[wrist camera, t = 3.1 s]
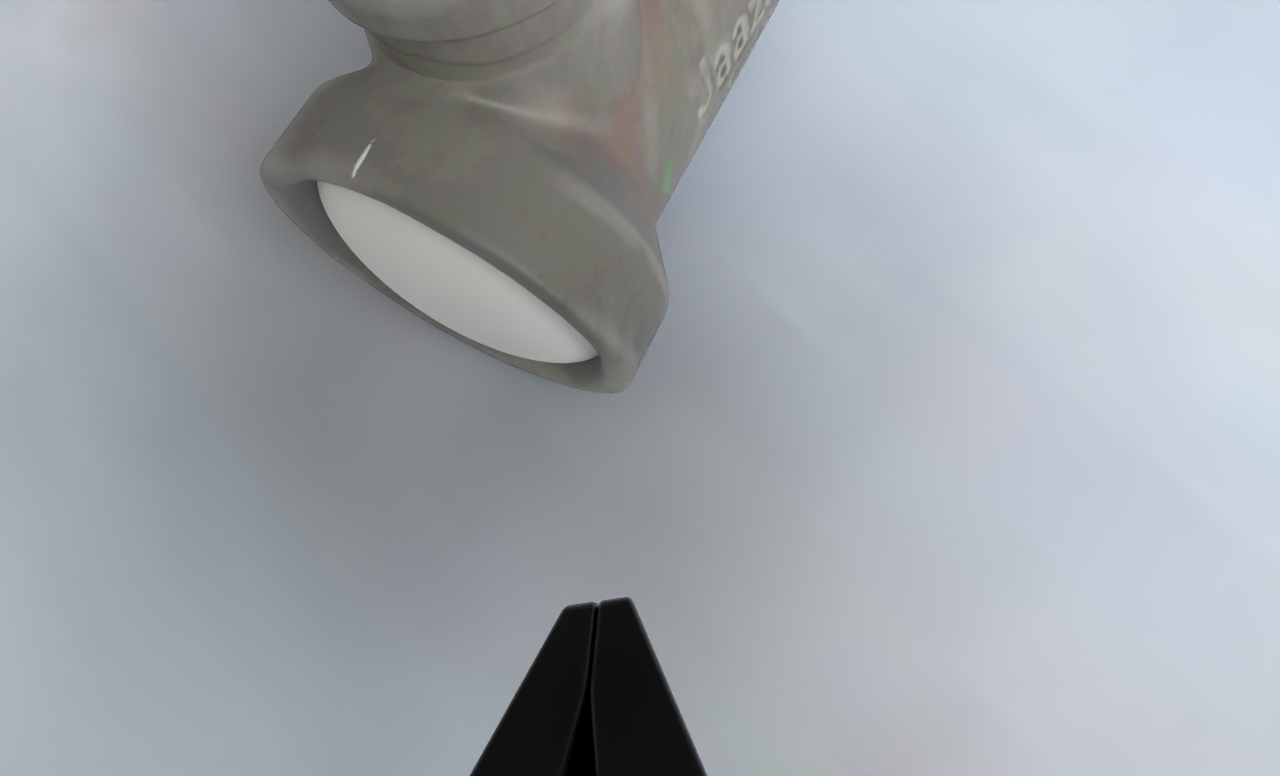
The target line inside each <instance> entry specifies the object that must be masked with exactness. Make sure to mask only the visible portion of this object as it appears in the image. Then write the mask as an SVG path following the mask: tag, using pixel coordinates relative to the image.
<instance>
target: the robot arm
mask: <svg viewBox="0 0 1280 776" xmlns="http://www.w3.org/2000/svg"><path fill="white" fill-rule="evenodd" d="M470 776H707V774H706V772H705V769H704V767H703V765H702V762H701V760H700V758H699V755H698V753H697V750H696V748H695V746H694V743H693V741H692V739H691V736H690V734H689V732H688V729H687V727H686V725H685V722H684V720H683V718H682V715H681V713H680V711H679V708H678V706H677V703H676V701H675V699H674V696H673V694H672V692H671V689H670V687H669V685H668V682H667V680H666V678H665V675H664V673H663V671H662V668H661V666H660V664H659V661H658V659H657V657H656V654H655V652H654V649H653V647H652V645H651V642H650V640H649V638H648V635H647V633H646V631H645V628H644V626H643V624H642V621H641V619H640V617H639V614H638V612H637V610H636V607H635V605H634V603H633V601H632V599H630V598H628V597H624V598H617V599H610V600H604V601H602V602H601V603H600V604H599V605H598V604H597V603H594V602H589V603H582V604H575V605H570V606H567V607H566V608H564V609H563V611H562V612H561V614H560V616H559V617H558V619H557V621H556V623H555V625H554V626H553V628H552V630H551V632H550V633H549V635H548V637H547V639H546V641H545V642H544V644H543V646H542V648H541V650H540V651H539V653H538V655H537V657H536V658H535V660H534V662H533V664H532V666H531V667H530V669H529V671H528V673H527V675H526V676H525V678H524V680H523V682H522V683H521V685H520V687H519V689H518V691H517V692H516V694H515V696H514V698H513V700H512V701H511V703H510V705H509V707H508V708H507V710H506V712H505V714H504V716H503V717H502V719H501V721H500V723H499V724H498V726H497V728H496V730H495V732H494V733H493V735H492V737H491V739H490V741H489V742H488V744H487V746H486V748H485V749H484V751H483V753H482V755H481V757H480V758H479V760H478V762H477V764H476V766H475V767H474V769H473V771H472V773H471V774H470Z"/></svg>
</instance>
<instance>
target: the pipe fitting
mask: <svg viewBox="0 0 1280 776" xmlns="http://www.w3.org/2000/svg"><path fill="white" fill-rule="evenodd" d="M329 1H330V2H331V4H332V5H333V6H334V7H335V8H336V9H337V10H338V11H339V12H340V13H341V14H343V15H344V16H345V17H346V18H348V19H349V20H351V21H352V22H354V23H355V24H357V25H359V26H361V27H363V28H364V29H365V32H366V35H367V38H368V41H369V44H370V47H371V51H372V56H373V59H372V63H371V64H370V65H369V66H368V67H366V68H364V69H362V70H359V71H356V72H353V73H349V74H346V75H343V76H340V77H337V78H334V79H332V80H330V81H327V82H325V83H324V84H322V85H321V86H320V87H319V88H317V89H316V90H315V91H314V93H313V94H312V95H311V96H310V98H309V99H308V100H307V102H306V103H305V104H304V106H303V107H302V108H301V110H300V111H299V112H298V114H297V115H296V116H295V118H294V119H293V121H292V122H291V123H290V125H289V126H288V127H287V129H286V130H285V131H284V133H283V134H282V136H281V137H280V138H279V140H278V141H277V142H276V144H275V145H274V146H273V148H272V149H271V150H270V152H269V153H268V155H267V156H266V158H265V159H264V161H263V163H262V165H261V169H260V173H261V178H262V181H263V183H264V185H265V187H266V189H267V191H268V192H269V194H270V195H271V197H272V198H273V200H274V201H275V203H276V204H277V206H278V207H279V208H280V209H281V210H282V211H283V212H284V213H285V214H286V215H287V216H288V217H289V218H290V219H291V220H292V221H293V222H294V223H295V224H296V225H297V226H298V227H299V228H300V229H301V230H302V231H303V232H304V233H305V234H306V235H308V236H309V237H310V238H311V239H312V240H313V241H314V242H316V243H317V244H318V245H319V246H320V247H321V248H323V249H324V250H325V251H326V252H327V253H328V254H330V255H331V256H332V257H333V258H335V259H336V260H337V261H338V262H340V263H341V264H343V265H344V266H346V267H347V268H348V269H350V270H351V271H352V272H354V273H355V274H356V275H358V276H359V277H361V278H362V279H363V280H365V281H366V282H367V283H369V284H370V285H372V286H373V287H375V288H376V289H378V290H379V291H381V292H382V293H383V294H385V295H386V296H388V297H389V298H391V299H392V300H394V301H396V302H397V303H399V304H400V305H402V306H403V307H405V308H407V309H408V310H410V311H411V312H413V313H414V314H416V315H418V316H419V317H421V318H423V319H424V320H426V321H428V322H429V323H431V324H433V325H434V326H436V327H438V328H439V329H441V330H443V331H445V332H447V333H449V334H450V335H452V336H454V337H456V338H458V339H460V340H461V341H463V342H465V343H467V344H469V345H471V346H473V347H475V348H477V349H479V350H481V351H483V352H485V353H487V354H489V355H491V356H493V357H495V358H497V359H499V360H502V361H504V362H506V363H508V364H510V365H513V366H515V367H518V368H521V369H523V370H526V371H528V372H531V373H534V374H536V375H539V376H541V377H544V378H547V379H550V380H552V381H555V382H558V383H561V384H564V385H567V386H571V387H574V388H578V389H581V390H587V391H592V392H599V393H616V392H620V391H622V390H624V389H625V388H626V387H627V386H628V385H629V383H630V382H631V380H632V378H633V376H634V374H635V372H636V371H637V369H638V367H639V365H640V363H641V361H642V359H643V357H644V355H645V353H646V351H647V349H648V347H649V345H650V343H651V341H652V339H653V337H654V335H655V333H656V331H657V329H658V327H659V325H660V323H661V321H662V319H663V317H664V315H665V313H666V310H667V306H668V300H669V292H668V284H667V279H666V274H665V270H664V265H663V261H662V256H661V251H660V247H659V242H658V238H657V233H656V229H655V223H656V222H657V220H658V218H659V216H660V214H661V212H662V211H663V209H664V207H665V205H666V203H667V202H668V200H669V198H670V196H671V194H672V193H673V191H674V189H675V187H676V185H677V184H678V182H679V180H680V178H681V177H682V175H683V173H684V171H685V169H686V168H687V166H688V164H689V162H690V160H691V159H692V157H693V155H694V153H695V151H696V150H697V148H698V146H699V144H700V142H701V141H702V139H703V137H704V135H705V134H706V132H707V130H708V128H709V126H710V125H711V123H712V121H713V119H714V117H715V116H716V114H717V112H718V110H719V108H720V107H721V105H722V103H723V101H724V99H725V98H726V96H727V94H728V92H729V91H730V89H731V87H732V85H733V83H734V82H735V80H736V78H737V76H738V74H739V73H740V71H741V69H742V67H743V65H744V64H745V62H746V60H747V58H748V56H749V55H750V53H751V51H752V49H753V47H754V46H755V44H756V42H757V40H758V38H759V37H760V35H761V33H762V31H763V29H764V28H765V26H766V24H767V22H768V20H769V19H770V17H771V15H772V13H773V11H774V9H775V7H776V5H777V3H778V1H779V0H329Z"/></svg>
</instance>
